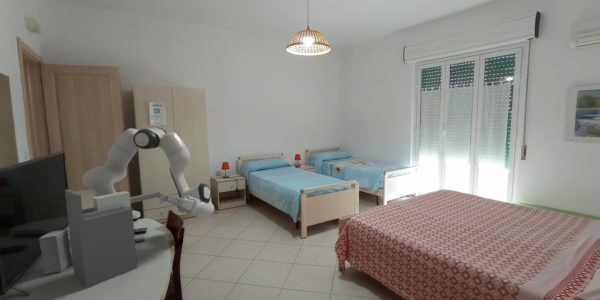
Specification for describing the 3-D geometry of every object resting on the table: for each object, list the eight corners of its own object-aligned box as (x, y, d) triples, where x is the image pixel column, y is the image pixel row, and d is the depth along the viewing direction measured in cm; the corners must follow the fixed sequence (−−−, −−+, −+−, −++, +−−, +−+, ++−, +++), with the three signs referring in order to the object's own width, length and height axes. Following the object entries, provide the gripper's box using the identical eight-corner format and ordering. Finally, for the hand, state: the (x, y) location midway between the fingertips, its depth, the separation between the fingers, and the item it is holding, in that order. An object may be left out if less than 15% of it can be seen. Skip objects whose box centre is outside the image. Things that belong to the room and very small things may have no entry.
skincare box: (61, 272, 117) (57, 236, 116) (41, 274, 116) (37, 238, 114) (73, 262, 126) (69, 228, 124) (55, 264, 124) (51, 230, 123)
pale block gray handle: (94, 211, 114) (92, 197, 114) (156, 197, 135) (156, 185, 134) (98, 213, 112) (96, 199, 111) (161, 198, 132) (160, 186, 131)
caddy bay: (74, 276, 114) (64, 189, 110) (123, 258, 128) (116, 181, 124) (86, 288, 106) (76, 195, 102) (137, 268, 120) (130, 185, 116)
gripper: (178, 195, 152) (154, 187, 141) (200, 201, 139) (176, 193, 129) (173, 206, 150) (149, 199, 139) (195, 213, 137) (170, 206, 127)
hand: (162, 196), depth 134 cm, fingers open, 8 cm apart
